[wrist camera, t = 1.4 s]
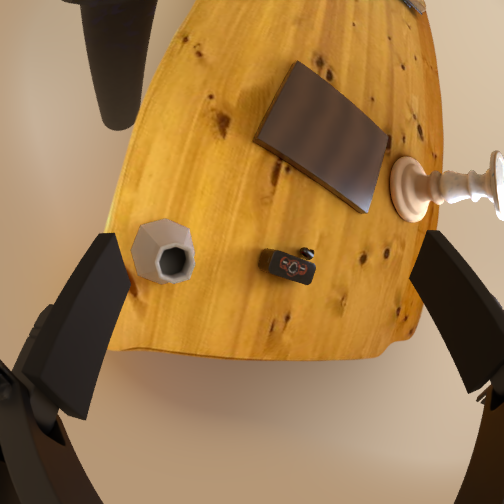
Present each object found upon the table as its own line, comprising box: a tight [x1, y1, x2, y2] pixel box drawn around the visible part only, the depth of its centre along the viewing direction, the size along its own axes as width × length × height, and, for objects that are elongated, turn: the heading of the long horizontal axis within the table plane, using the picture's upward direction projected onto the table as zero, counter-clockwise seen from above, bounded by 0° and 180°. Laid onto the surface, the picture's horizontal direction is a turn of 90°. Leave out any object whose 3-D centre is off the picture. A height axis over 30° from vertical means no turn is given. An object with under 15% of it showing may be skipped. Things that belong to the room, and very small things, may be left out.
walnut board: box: [253, 61, 388, 213], centre depth 37 cm, size 20×15×2 cm
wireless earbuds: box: [258, 247, 316, 285], centre depth 35 cm, size 5×7×3 cm, turn 70°
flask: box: [131, 219, 195, 284], centre depth 25 cm, size 7×7×10 cm
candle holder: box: [390, 151, 504, 222], centre depth 36 cm, size 12×12×20 cm
